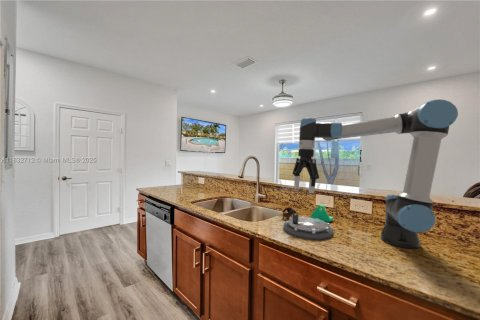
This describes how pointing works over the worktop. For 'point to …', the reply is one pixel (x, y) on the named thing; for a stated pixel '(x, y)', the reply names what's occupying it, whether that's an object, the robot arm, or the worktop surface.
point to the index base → (309, 235)
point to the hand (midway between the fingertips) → (303, 190)
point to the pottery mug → (289, 212)
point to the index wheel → (307, 224)
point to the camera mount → (321, 214)
